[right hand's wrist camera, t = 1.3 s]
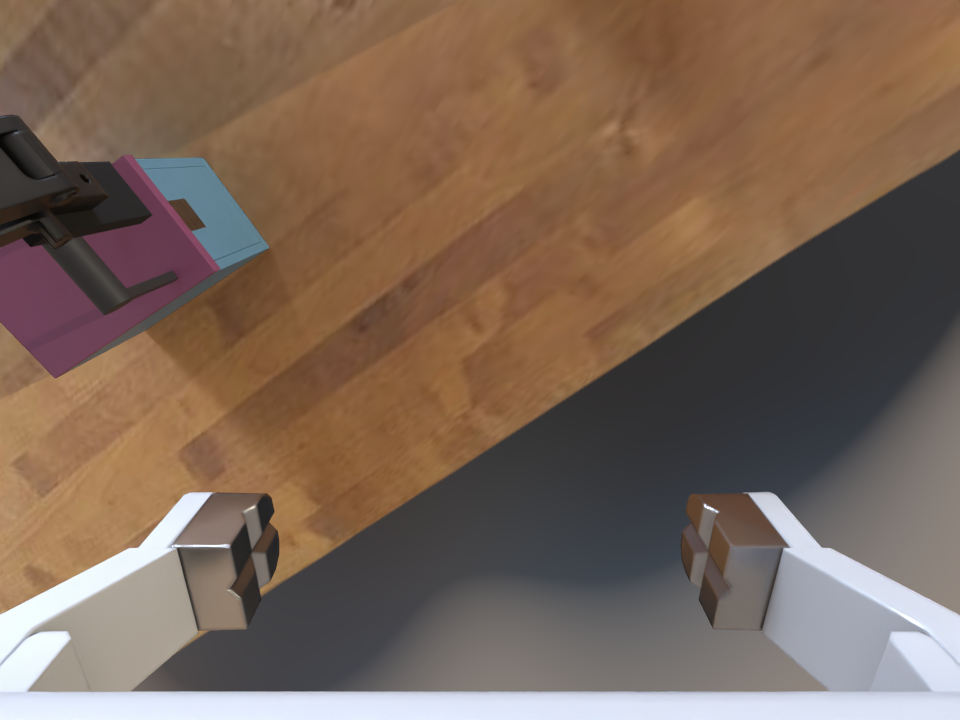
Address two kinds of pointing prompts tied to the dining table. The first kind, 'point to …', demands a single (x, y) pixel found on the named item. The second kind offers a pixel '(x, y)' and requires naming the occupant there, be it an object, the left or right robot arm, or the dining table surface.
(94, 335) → the lid
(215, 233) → the chest
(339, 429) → the dining table surface
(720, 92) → the dining table surface
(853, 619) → the right robot arm
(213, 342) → the dining table surface
